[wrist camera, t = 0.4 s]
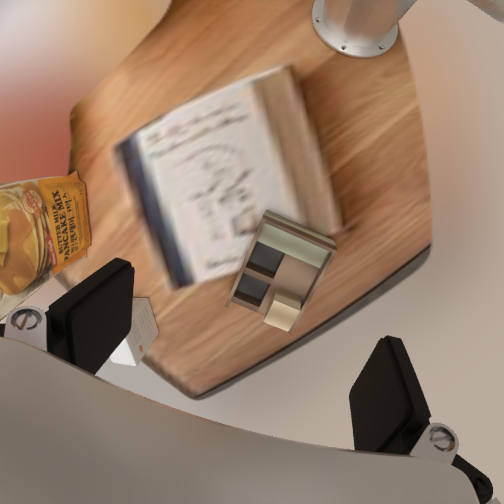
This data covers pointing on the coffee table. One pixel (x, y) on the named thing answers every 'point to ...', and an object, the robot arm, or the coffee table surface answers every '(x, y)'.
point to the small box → (137, 334)
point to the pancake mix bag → (39, 234)
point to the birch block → (282, 309)
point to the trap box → (282, 264)
